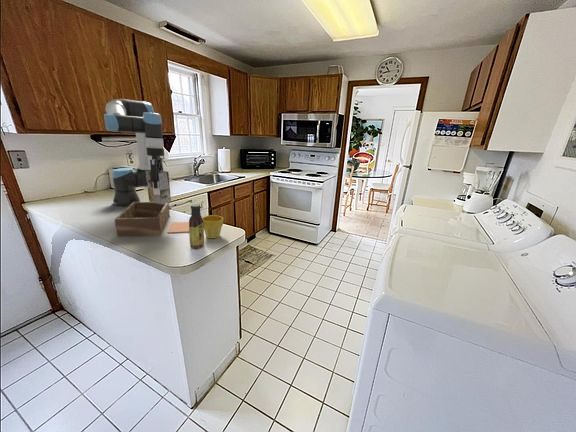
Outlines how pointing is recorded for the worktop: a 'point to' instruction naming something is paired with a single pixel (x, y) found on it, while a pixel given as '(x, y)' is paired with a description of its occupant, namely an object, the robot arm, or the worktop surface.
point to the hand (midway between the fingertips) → (159, 192)
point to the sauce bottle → (196, 228)
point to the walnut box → (142, 219)
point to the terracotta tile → (179, 227)
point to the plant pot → (212, 225)
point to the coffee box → (164, 188)
